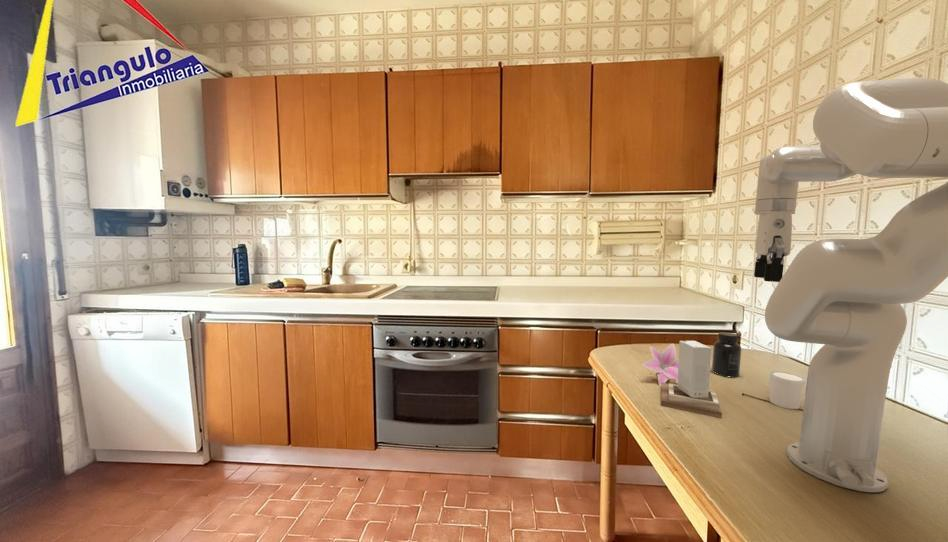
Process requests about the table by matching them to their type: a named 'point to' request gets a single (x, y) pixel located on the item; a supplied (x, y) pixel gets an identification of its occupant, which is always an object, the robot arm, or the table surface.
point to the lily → (664, 364)
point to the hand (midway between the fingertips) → (766, 279)
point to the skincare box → (694, 368)
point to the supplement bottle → (726, 355)
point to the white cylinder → (786, 389)
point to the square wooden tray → (689, 400)
